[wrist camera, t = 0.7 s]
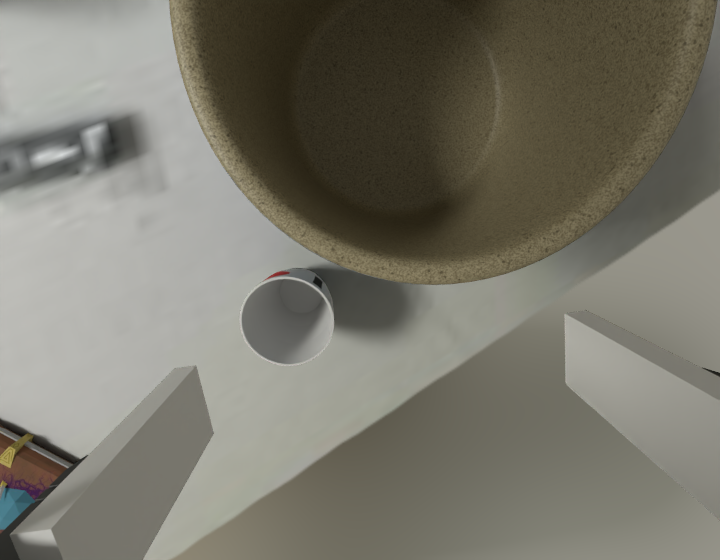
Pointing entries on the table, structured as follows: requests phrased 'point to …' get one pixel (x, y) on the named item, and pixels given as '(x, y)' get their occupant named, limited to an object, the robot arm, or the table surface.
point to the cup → (288, 317)
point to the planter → (439, 119)
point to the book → (24, 473)
